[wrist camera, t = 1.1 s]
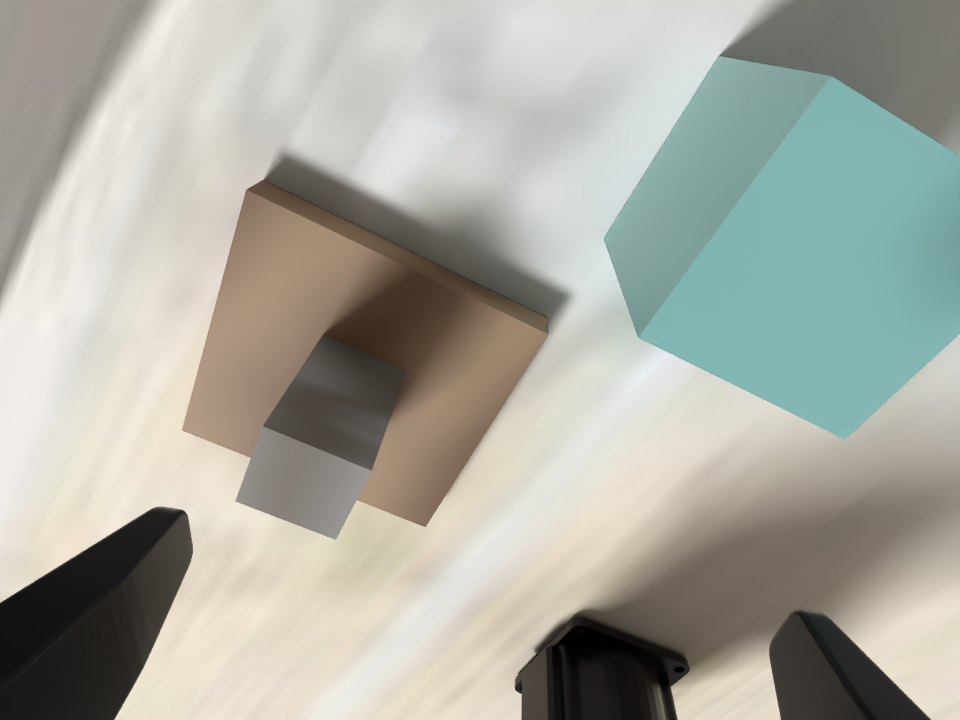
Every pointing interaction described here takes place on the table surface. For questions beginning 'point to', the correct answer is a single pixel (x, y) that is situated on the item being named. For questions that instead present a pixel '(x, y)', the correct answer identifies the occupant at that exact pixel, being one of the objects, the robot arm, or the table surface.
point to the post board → (376, 317)
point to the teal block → (794, 243)
